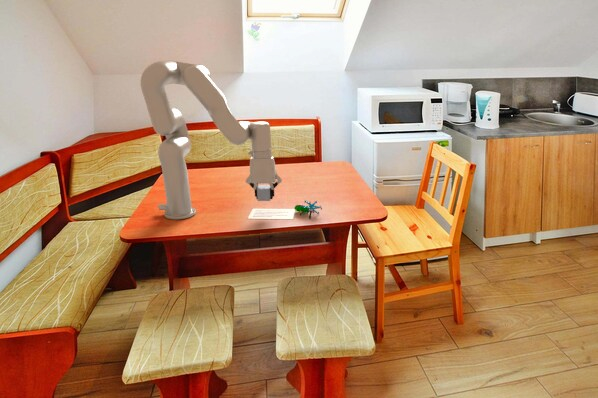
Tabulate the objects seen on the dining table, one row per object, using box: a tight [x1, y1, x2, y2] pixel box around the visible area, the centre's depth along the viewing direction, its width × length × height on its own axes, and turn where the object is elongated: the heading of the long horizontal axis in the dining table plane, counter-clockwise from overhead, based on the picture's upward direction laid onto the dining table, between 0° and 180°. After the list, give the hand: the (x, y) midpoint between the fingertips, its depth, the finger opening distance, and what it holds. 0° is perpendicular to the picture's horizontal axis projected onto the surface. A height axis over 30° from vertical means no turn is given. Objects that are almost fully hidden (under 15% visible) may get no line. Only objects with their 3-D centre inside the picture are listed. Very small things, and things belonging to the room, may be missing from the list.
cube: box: [257, 184, 272, 202], centre depth 169 cm, size 5×5×5 cm
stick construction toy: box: [293, 200, 323, 220], centre depth 169 cm, size 12×7×8 cm
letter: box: [247, 208, 296, 220], centre depth 172 cm, size 18×11×1 cm, turn 85°
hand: (264, 197), depth 170 cm, fingers closed on cube, 5 cm apart
